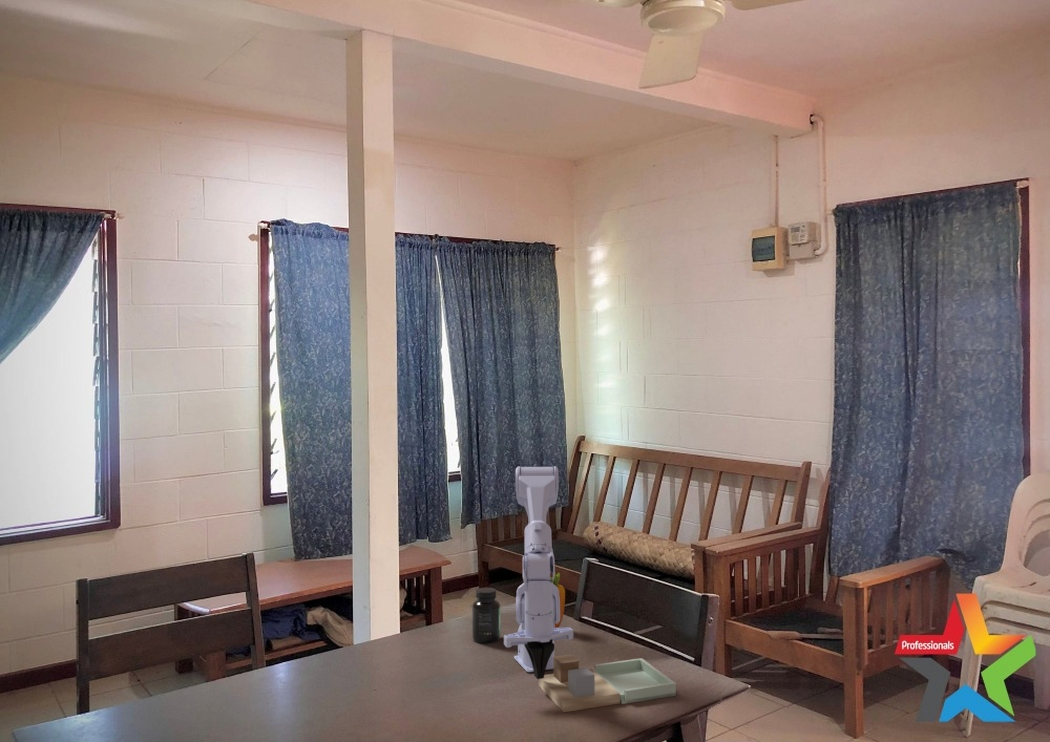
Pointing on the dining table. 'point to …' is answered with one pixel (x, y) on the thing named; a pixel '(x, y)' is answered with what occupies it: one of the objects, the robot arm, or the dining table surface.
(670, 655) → the dining table surface
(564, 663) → the walnut block
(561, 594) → the carrot
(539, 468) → the robot arm
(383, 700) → the dining table surface
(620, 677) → the box
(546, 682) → the birch plate
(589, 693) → the slate block
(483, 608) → the supplement bottle
